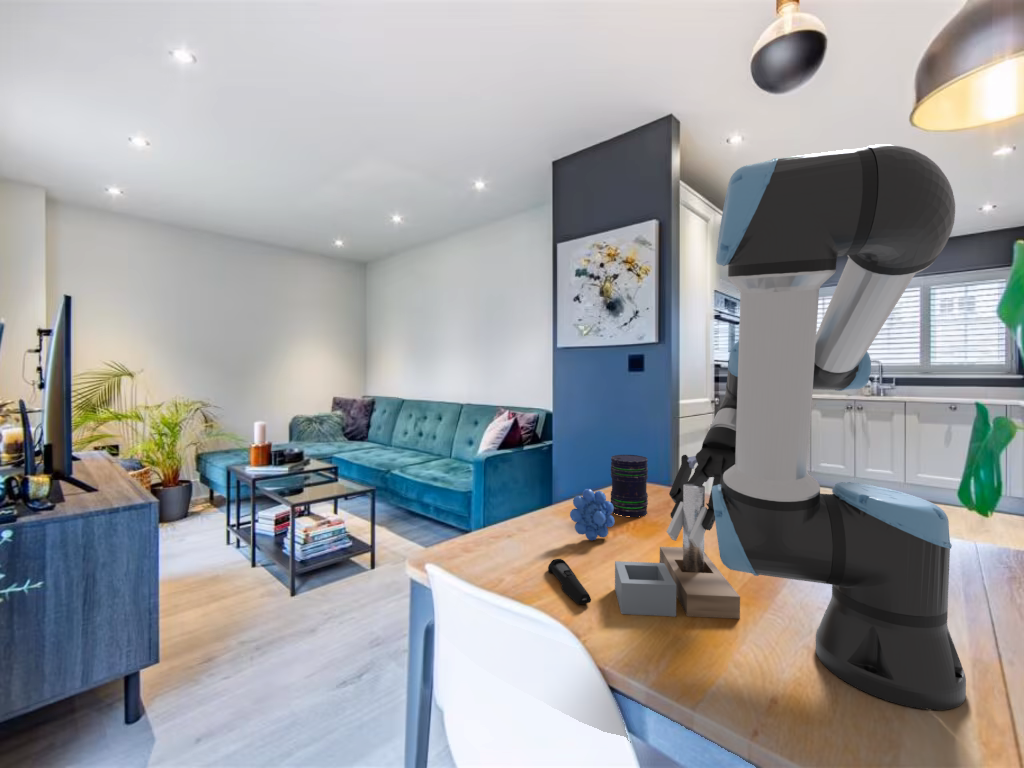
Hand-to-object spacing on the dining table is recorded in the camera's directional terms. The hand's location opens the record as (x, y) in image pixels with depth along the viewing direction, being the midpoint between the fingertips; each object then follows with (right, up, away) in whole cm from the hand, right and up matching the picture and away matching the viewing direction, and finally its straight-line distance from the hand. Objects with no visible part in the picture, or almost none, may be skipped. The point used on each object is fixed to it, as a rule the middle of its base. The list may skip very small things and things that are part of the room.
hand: (682, 539), depth 82 cm
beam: (+3, -9, +2) cm, 10 cm away
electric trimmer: (-19, -10, +2) cm, 22 cm away
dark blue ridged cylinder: (+2, -8, +46) cm, 47 cm away
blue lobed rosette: (-11, -9, +24) cm, 28 cm away
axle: (+3, -6, +3) cm, 7 cm away
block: (-8, -9, -3) cm, 13 cm away
